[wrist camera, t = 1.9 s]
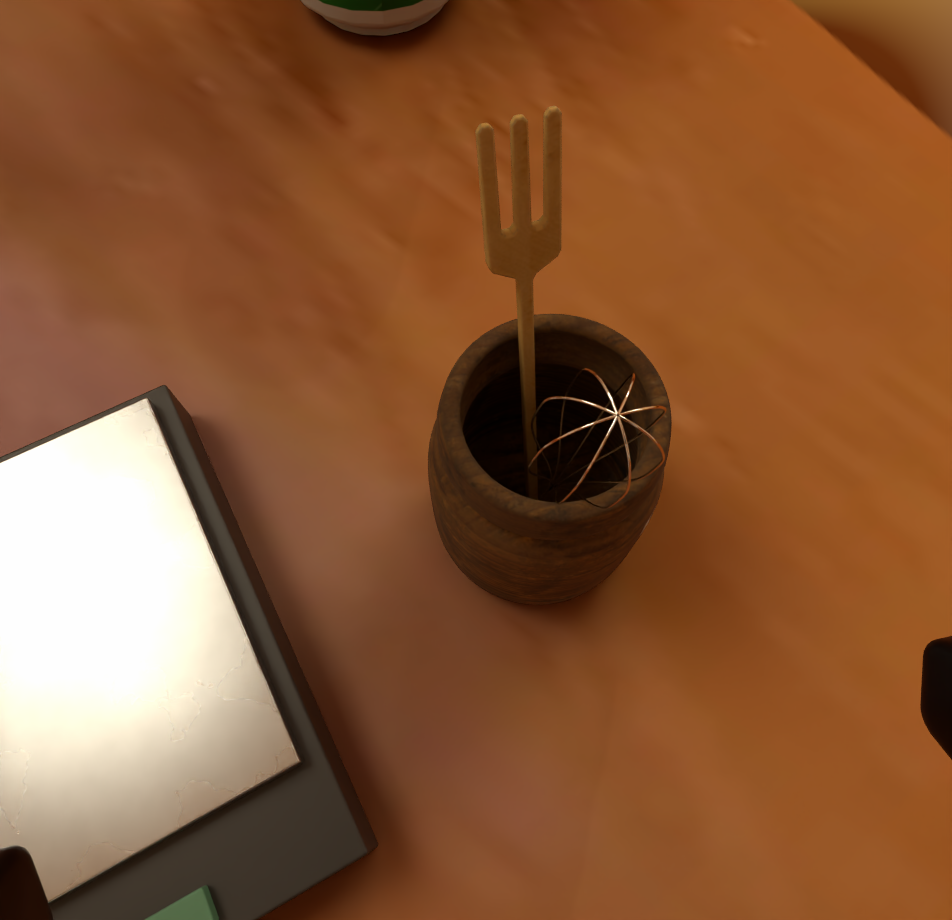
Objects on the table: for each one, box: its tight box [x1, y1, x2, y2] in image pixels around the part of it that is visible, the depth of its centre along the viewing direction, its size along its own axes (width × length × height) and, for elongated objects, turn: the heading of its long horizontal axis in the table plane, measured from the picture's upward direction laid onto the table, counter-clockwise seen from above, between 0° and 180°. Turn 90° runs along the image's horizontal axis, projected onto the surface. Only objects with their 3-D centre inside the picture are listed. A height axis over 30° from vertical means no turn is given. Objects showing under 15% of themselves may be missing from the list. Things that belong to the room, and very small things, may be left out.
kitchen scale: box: [0, 385, 378, 920], centre depth 19 cm, size 14×12×2 cm
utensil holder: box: [428, 106, 671, 604], centre depth 17 cm, size 6×6×12 cm
